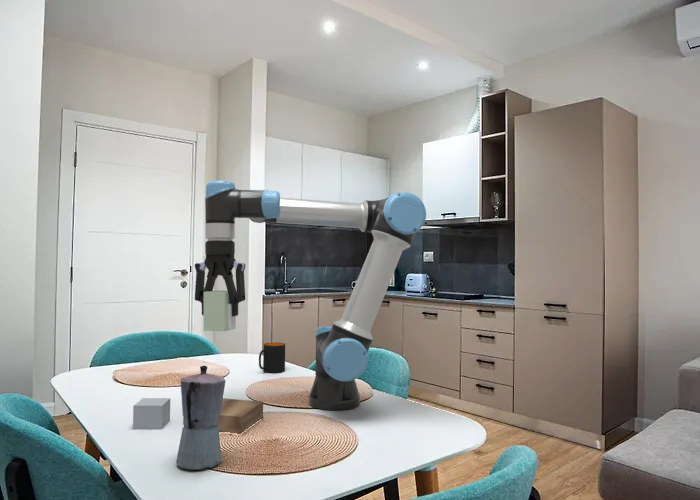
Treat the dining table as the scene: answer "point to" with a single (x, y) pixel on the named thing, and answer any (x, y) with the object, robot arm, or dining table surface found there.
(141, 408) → the slate block
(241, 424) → the walnut block
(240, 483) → the dining table surface
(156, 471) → the dining table surface
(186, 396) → the moka pot
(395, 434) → the dining table surface
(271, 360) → the mug
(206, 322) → the sage block
